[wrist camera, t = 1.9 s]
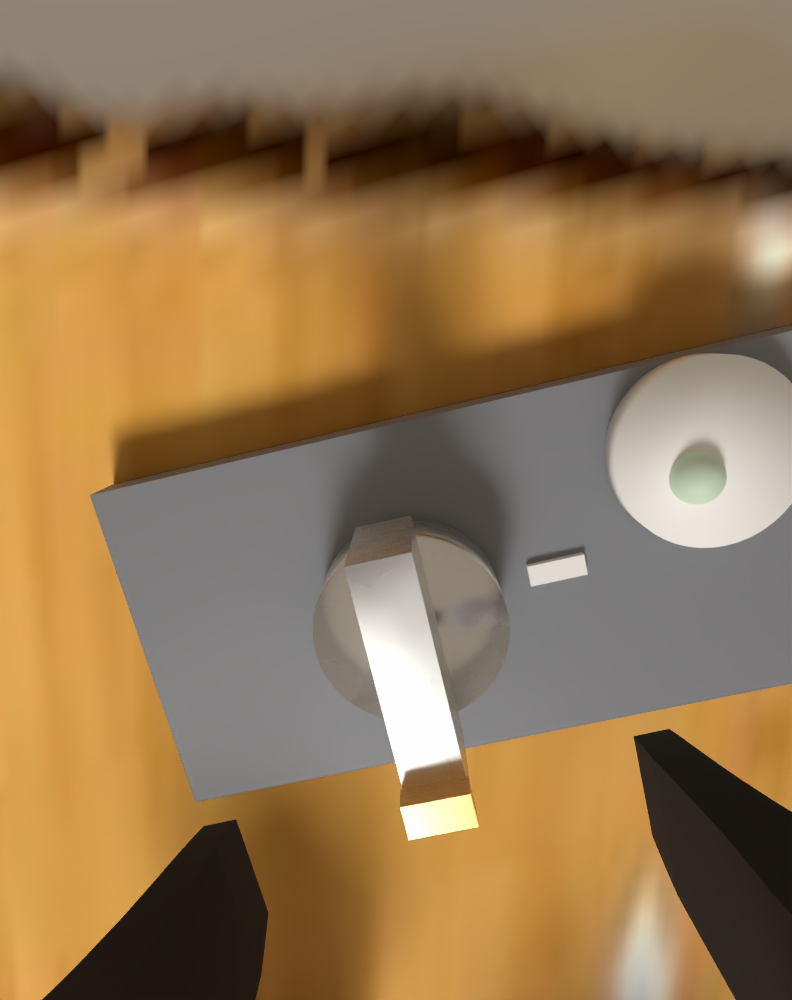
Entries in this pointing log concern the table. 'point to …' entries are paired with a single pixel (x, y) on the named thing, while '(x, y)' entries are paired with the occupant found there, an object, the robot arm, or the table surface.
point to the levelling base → (504, 541)
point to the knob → (415, 653)
